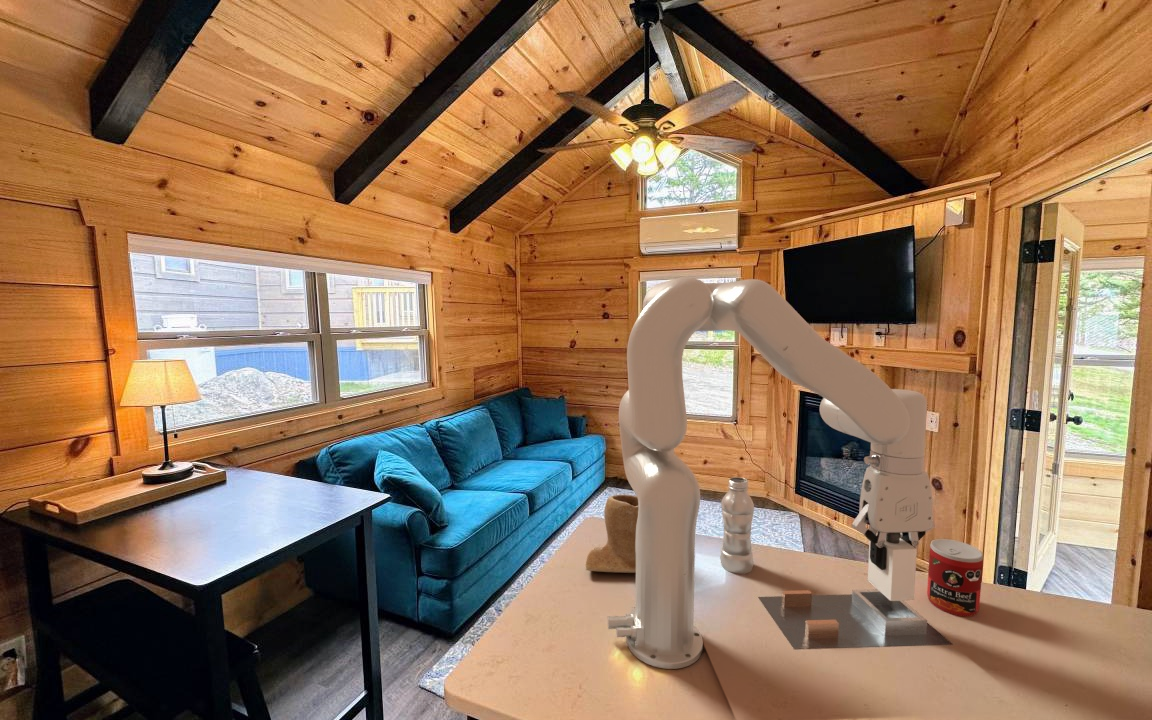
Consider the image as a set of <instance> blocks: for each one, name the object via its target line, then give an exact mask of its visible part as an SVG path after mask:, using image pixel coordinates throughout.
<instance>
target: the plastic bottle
mask: <svg viewBox="0 0 1152 720" xmlns="http://www.w3.org/2000/svg"><path fill="white" fill-rule="evenodd" d="M727 487H728V489H729V490H728V491H727V492H726V493H725V495H724V496H723V497H722V499H721V503H720V506H721V514H722V519H723V520H722V521H723V522H722V523H723V524H722V525H723V538H722V547H721V550H720V556H719V557H720V558H719V559H720V564H721V567H722V569H724V570H725V571H727V572H730V573H733V574H738V575H744V574H749V573H750V572H752V571H753V567H754V555H753V552H752V539H751V537H752V536H751V535H752V523H753V517H754V511H755V504H754V500H753V499H752V498H751V496H750V494H749V493H748V490H749V481H748V479H747V478H744V477H739V476H738V477H737V476H734V477H730V478H729V480H728V486H727Z"/></svg>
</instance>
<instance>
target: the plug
mask: <svg viewBox="0 0 1152 720" xmlns="http://www.w3.org/2000/svg"><path fill="white" fill-rule="evenodd" d="M876 536H877V534H876ZM868 541H869V543H868V545H869V547H868V568H867V582H869V584H871V585H872V586H873V587H874V588H875V589H878V590H879V591H880V592H881V593H882V594H883V595H884V596H886V597H887V598H888V599H889V600H890V601H905V602H906V601H915V589H916V588H915V587H916V586H915V585H916V570H917V569H916V567H917V555H918V554H917V552H918V548H916V547H913V546H911V545H910V544H908V543H907V542H905V541H904V540H902V539H901V535H900V533H887V534H886V539H885V543H884V547H886V548H887V555H886V569H885V570H881V569H880V568H878V567H877V566H876V565H875V564H873V563H872V562H871V559H870V542H871V541H870V540H868Z"/></svg>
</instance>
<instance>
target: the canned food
mask: <svg viewBox="0 0 1152 720" xmlns="http://www.w3.org/2000/svg"><path fill="white" fill-rule="evenodd" d="M983 564H984V553H983V552H982V551H981V550H980V549H978V548H977V547H975V546H974V545H971V544H969V543H965V542H962V541H958V540H955V539H947V538H937V539H933V540H931V542H930V545H929V555H928V574H927V589H926V590H927V591H926V593H927V598H928V601H929V602H930V604H932V605H933V606H934V607H936V609H938V610H941V611H943V612H946V613H948V614H951V615H954V616H959V617H972V616H975V615H977V613H978V612H979V609H980V602H981V592H982V580H983V579H982V577H983V569H984V568H983V567H984V565H983Z"/></svg>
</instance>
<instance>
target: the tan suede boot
mask: <svg viewBox="0 0 1152 720" xmlns="http://www.w3.org/2000/svg"><path fill="white" fill-rule="evenodd" d="M638 507H639V506H638V498H637V496H636V495H633V494H614V495H610V496H609V497H608V498H607V500H606V502H605V506H604V510H603V511H604V512H603V516H604V517H603V518H604V522H605V528H606V534H607V535H606V536H607V537H606V538H607V540H606V541H607V542H606V544H605V545H604V546H599V547H597V546H596V547H594V548H593V549H591V550H589V552H588V554H587V557H586V561H585V571H589V572H599V573H600V572H602V573H603V572H604V573H622V574H623V573H624V574H625V573H628V574H636V552H635V539H636V524H637V518H638Z"/></svg>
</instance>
